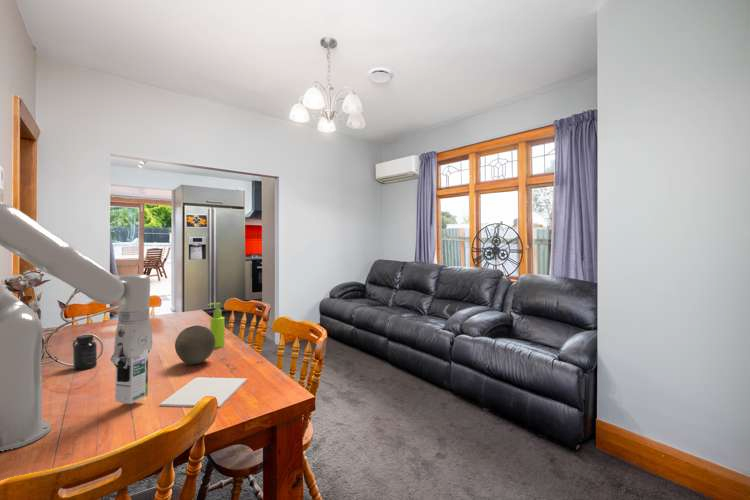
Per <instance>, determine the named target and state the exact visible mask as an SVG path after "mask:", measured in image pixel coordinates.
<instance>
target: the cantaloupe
mask: <svg viewBox="0 0 750 500" xmlns="http://www.w3.org/2000/svg"><path fill="white" fill-rule="evenodd" d="M214 346H215V337H214V334H213V333H212V331H211V330H210V328H208V327H206V326H204V325H203V326H202V325H193V326H188V327H186V328H184V329H183V330H181V332H180V333H179V334H178V335H177V337H176V339H175V342H174V348H175V349H174V350H175V352H176V355H177V356H178V358H179V359H180V361H182V362H183V363H185V364H187V365H198V364H200V363H203V362H204V361H205V360H207V359H208V358H209V357H210V356H211V355H212V353H213V351H214V349H215V348H214Z"/></svg>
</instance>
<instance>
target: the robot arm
mask: <svg viewBox="0 0 750 500" xmlns="http://www.w3.org/2000/svg"><path fill="white" fill-rule="evenodd" d="M0 246H1V247H3V248H4V249H6V250H7V251H9V252H11V253H13V254H14V255H16V256H17V257H19V258H20V259H22V260H23V261H25V262H27V263H28V264H31V266H33V267H35V268H37V269H38V270H40V271H42V272H44V273H45V274H48V275H50V276H52V277H54V278H57V279H58V280H60V281H62V282H64V283H65V284H66V285H68V286H70V287H71V288H73V289H75V290H76V291H79V292H80V293H82V294H83V295H85V296H86V297H88V298H89V299H90V300H92V301H94V302H96V303H98V304H100V305H110V304H114V303H116V302H118V317H117V322H118V323H117V325H116V331H115V338H114V343H113V344H114V347H113V348H114V349H113V350H114V351H113V354H112V355H111V357H110V362H111V363H112V364H113V365H114V366H115V369H116V368H117V381H118V382H128V381H129V378H130V367H128V365H129V362H130V358H134V357H136V356H138V355H140V354H142V353H143V352H144V350H146V349H148V354H149V353H150V350H152V348H153V330H152V329H153V327H152V322H151V321H152V320H151V318H150V301H151V300H150V299H151V298H150V297H151V295H150V294H151V293H150V292H151V278H150V276H149V275H148V274H144V273H143V274H142V273H127V274H112V273H111V272H110V271H108V270H106V269H105V268H104V267H102V266H101V265H99V264H98V263H96V262H95V261H93V260H92V259H91V258H89V257H87V256H86V255H85V254H83V253H82V252H80V251H79V250H78V249H77V248H75V247H74V246H72V245H71V244H70V243H68V242H67V241H65V240H63V239H62V237H59V236H58V235H56V234H55V233H53V232H52V231H50V230H49V229H48V228H46V227H44V226H43V225H42V224H40V223H39V222H37V221H36V220H35V219H33V218H32V217H30V216H29V215H28V214H26V213H24V212H22V211H21V210H20V209H18V208H16V207H14V206H12V205H10V204H6V203H0ZM41 321H42V320H41V319H40V318H39V316H38V314H36V312H35V311H34V310H33V309H32V308H30V307H29V306H28V305H27V304H26V303H25V302H23V301H22V300H21V299H19V298H18V297H17V296H16V295H15V294H13V293H12V292H11V291H10V290H8V289H7V288H6V287H4V286H3V285H2V284H1V283H0V451H2V450H3V451H2V452H5V451H4V450H7V451H9V450H8V449H11V450H14V448H15V449H18V448H22V447H24V446H27V445H29V444H32V443H33V442H36V441H38V440H40V439H43V437H45V436H46V435H47V434H48V433H49V432H51V431H50V430H51V428H52V427H51V426H52V425H51V423H50V422H49V421H46V420H43V396H42V395H43V393H42V391H43V389H42V387H43V386H42V385H43V383H42V381H43V380H42V378H43V376H42V375H43V374H42V371H43V370H42V369H43V368H42V347H43V326H42V325H43V324H42V322H41ZM123 355H125V356H123ZM123 359H126V360H125V363H124V362H123V361H122V360H123Z"/></svg>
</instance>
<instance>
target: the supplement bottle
mask: <svg viewBox="0 0 750 500" xmlns="http://www.w3.org/2000/svg"><path fill="white" fill-rule="evenodd" d="M97 346H98V345H97V343H96V341H94V335H93V334H83V335H78V336H76V341H75V344H74V346H73V347H72V355H73V357H72V358H73V359H72V360H73V361H72V363H73V365H72V366H73V370H75V371H87V370H91V369H93V368H95V367H96V366H97V364H98V363H97V361H98V355H97V354H98V352H97V351H98V350H97Z"/></svg>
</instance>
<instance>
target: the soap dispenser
mask: <svg viewBox="0 0 750 500" xmlns="http://www.w3.org/2000/svg"><path fill="white" fill-rule="evenodd" d="M221 304H222V303H221V302H211V303H207V305H208V306H215V309H214V310H213V316H212V317H211V318H210V328H209V329H210V330H211V331H212V333H213V334H214V337H215V346H214V349H219V348H218V347H220V348H224V347H225V333H226V332H225V318H226V317H225V316H222V315H223V314H222V311H223V310H222V309H221Z"/></svg>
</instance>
